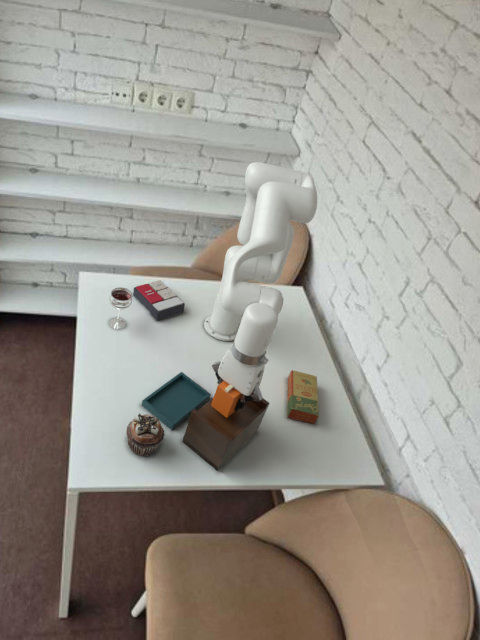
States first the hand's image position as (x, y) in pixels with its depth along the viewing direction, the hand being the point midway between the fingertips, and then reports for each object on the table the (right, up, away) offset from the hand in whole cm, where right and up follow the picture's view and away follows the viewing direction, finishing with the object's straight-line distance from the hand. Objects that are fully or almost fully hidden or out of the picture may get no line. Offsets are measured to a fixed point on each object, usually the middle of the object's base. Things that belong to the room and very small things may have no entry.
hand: (229, 400), depth 135 cm
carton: (+23, -4, +24) cm, 33 cm away
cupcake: (-22, -11, +2) cm, 25 cm away
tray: (-14, -3, +14) cm, 20 cm away
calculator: (-21, +26, +46) cm, 56 cm away
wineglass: (-33, +19, +34) cm, 51 cm away
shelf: (-2, -11, +8) cm, 14 cm away
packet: (0, -1, +1) cm, 1 cm away
